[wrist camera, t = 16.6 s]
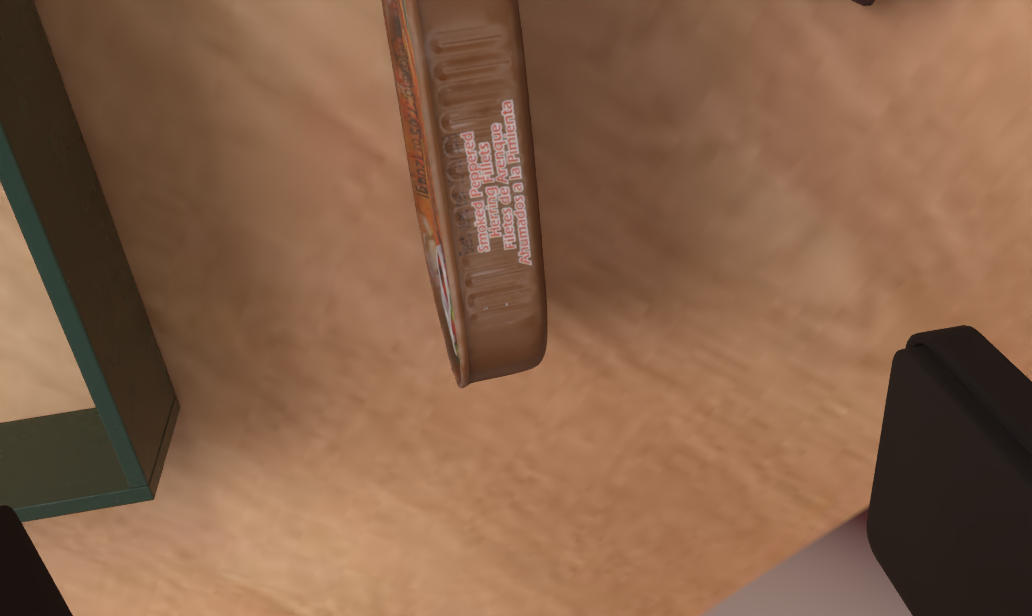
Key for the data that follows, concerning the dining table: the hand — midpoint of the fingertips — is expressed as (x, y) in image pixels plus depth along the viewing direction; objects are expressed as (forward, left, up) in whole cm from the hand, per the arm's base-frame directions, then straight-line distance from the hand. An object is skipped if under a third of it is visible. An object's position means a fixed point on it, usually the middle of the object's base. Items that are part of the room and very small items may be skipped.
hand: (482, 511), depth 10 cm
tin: (+2, +1, -21) cm, 21 cm away
